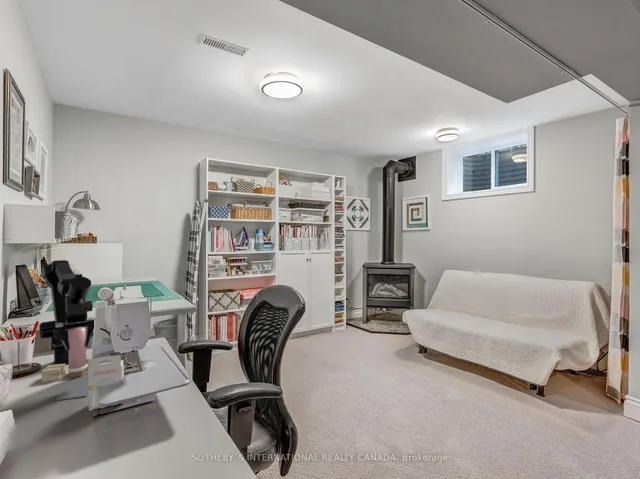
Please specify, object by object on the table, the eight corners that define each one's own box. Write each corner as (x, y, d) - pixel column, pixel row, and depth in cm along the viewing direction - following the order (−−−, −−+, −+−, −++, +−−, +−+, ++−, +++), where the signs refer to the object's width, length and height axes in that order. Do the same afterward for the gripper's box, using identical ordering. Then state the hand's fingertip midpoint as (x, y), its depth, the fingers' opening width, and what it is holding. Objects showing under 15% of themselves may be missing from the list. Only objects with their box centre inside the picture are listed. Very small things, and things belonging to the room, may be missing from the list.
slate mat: (73, 381, 113) (73, 379, 113) (100, 377, 115) (100, 376, 115) (54, 401, 99) (54, 399, 99) (86, 396, 102) (86, 395, 102)
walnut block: (77, 370, 122) (77, 359, 122) (89, 369, 123) (89, 358, 122) (69, 377, 116) (69, 366, 116) (82, 376, 117) (82, 365, 117)
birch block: (48, 376, 117) (48, 365, 117) (65, 374, 118) (65, 363, 118) (41, 382, 112) (41, 371, 112) (59, 380, 114) (59, 369, 113)
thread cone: (71, 366, 109) (70, 327, 108) (90, 364, 110) (89, 326, 110) (64, 373, 104) (63, 332, 103) (84, 371, 105) (83, 330, 105)
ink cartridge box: (124, 397, 101) (124, 349, 101) (122, 404, 97) (122, 355, 97) (91, 403, 98) (90, 354, 98) (87, 411, 93) (86, 360, 93)
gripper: (39, 297, 104) (37, 341, 95) (109, 290, 115) (113, 329, 107) (41, 317, 110) (39, 359, 102) (107, 309, 122) (111, 346, 113)
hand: (77, 348), depth 106 cm, fingers closed on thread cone, 5 cm apart
